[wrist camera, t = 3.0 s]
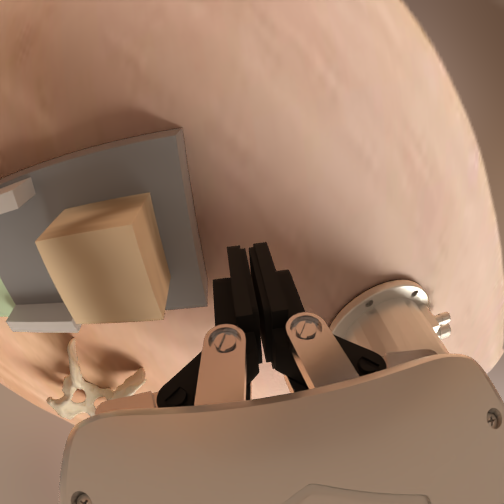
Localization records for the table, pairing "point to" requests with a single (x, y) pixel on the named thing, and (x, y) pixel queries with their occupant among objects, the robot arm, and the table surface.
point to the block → (108, 261)
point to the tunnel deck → (90, 191)
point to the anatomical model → (89, 389)
